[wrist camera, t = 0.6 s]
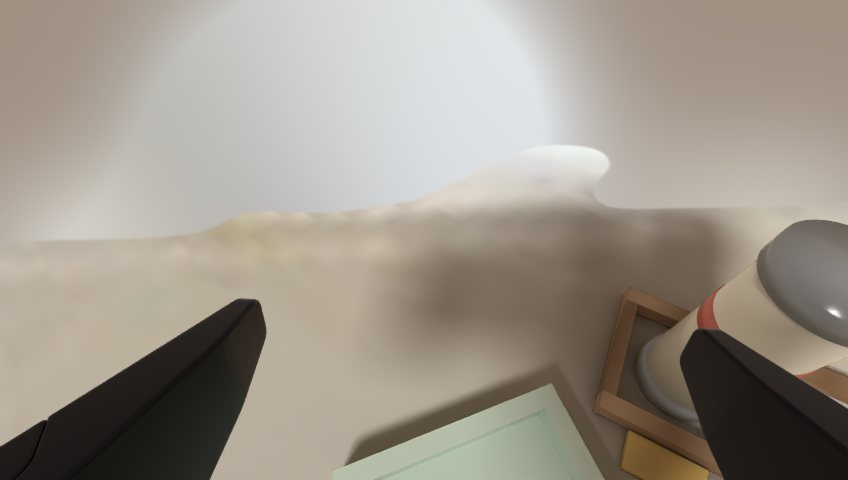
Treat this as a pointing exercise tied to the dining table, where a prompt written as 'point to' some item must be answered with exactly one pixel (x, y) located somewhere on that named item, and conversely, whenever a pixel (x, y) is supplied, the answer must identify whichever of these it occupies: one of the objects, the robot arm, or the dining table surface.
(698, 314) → the ball
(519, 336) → the dining table surface
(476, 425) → the tray
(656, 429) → the wooden fuse rack
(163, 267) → the dining table surface
